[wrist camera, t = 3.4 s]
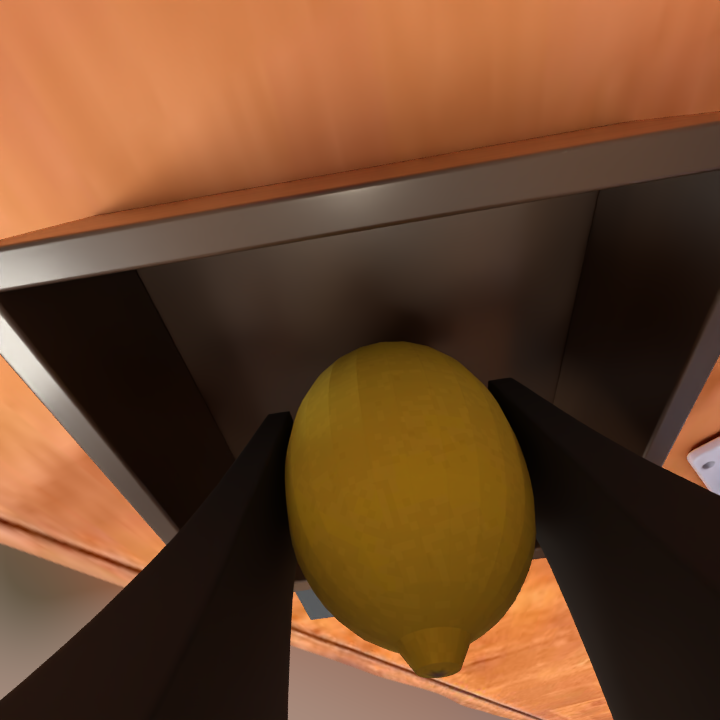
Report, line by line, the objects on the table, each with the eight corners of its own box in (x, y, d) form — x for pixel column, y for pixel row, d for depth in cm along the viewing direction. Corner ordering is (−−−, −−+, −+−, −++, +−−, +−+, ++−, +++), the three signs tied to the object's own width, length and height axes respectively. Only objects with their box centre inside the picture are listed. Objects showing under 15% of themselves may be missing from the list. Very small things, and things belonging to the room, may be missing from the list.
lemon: (444, 272, 10) (674, 538, 3) (469, 406, 13) (617, 696, 6) (274, 329, 10) (156, 647, 4) (335, 443, 13) (330, 740, 7)
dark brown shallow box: (632, 120, 8) (857, 95, 5) (552, 452, 15) (620, 548, 11) (89, 216, 9) (-85, 261, 5) (244, 497, 15) (215, 603, 12)
